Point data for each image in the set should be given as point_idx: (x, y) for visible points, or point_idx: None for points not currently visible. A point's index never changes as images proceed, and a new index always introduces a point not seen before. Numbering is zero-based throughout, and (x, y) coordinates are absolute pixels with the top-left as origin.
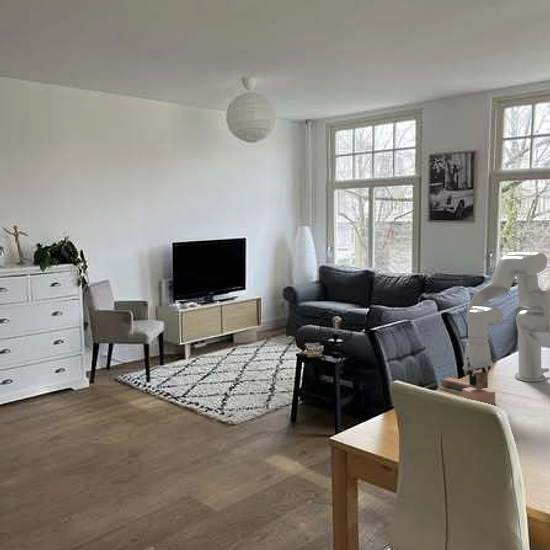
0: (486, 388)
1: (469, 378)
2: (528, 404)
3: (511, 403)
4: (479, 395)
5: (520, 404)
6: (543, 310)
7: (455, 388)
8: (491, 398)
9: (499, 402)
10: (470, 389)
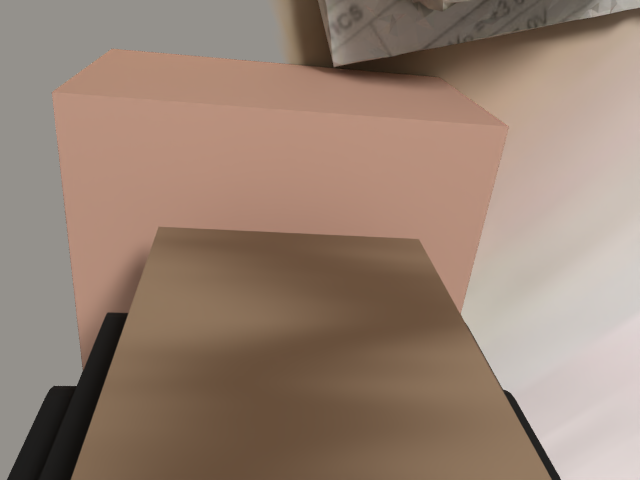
0: (454, 300)
1: (19, 461)
2: (599, 462)
3: (518, 392)
4: None
5: (551, 438)
6: None
7: None
8: None
9: None
10: (183, 211)
